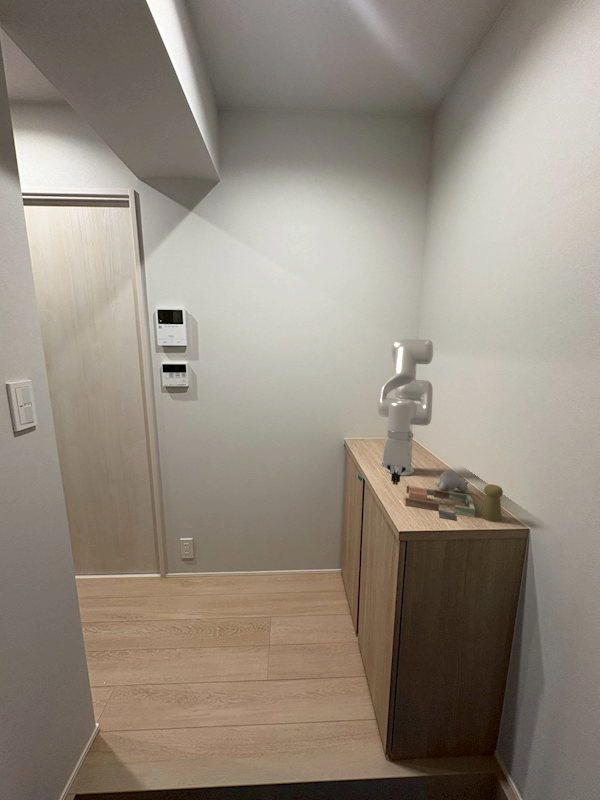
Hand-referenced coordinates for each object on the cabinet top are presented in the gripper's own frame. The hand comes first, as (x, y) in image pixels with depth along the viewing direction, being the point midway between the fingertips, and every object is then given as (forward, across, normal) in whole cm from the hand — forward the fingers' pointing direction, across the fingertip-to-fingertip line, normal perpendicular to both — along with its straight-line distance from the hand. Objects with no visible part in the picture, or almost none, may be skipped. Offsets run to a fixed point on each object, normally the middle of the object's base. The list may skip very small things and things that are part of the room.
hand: (395, 483), depth 121 cm
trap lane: (+6, -15, -1) cm, 16 cm away
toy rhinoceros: (+5, -21, -13) cm, 25 cm away
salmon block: (+6, -8, -1) cm, 10 cm away
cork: (+6, -31, +3) cm, 32 cm away
